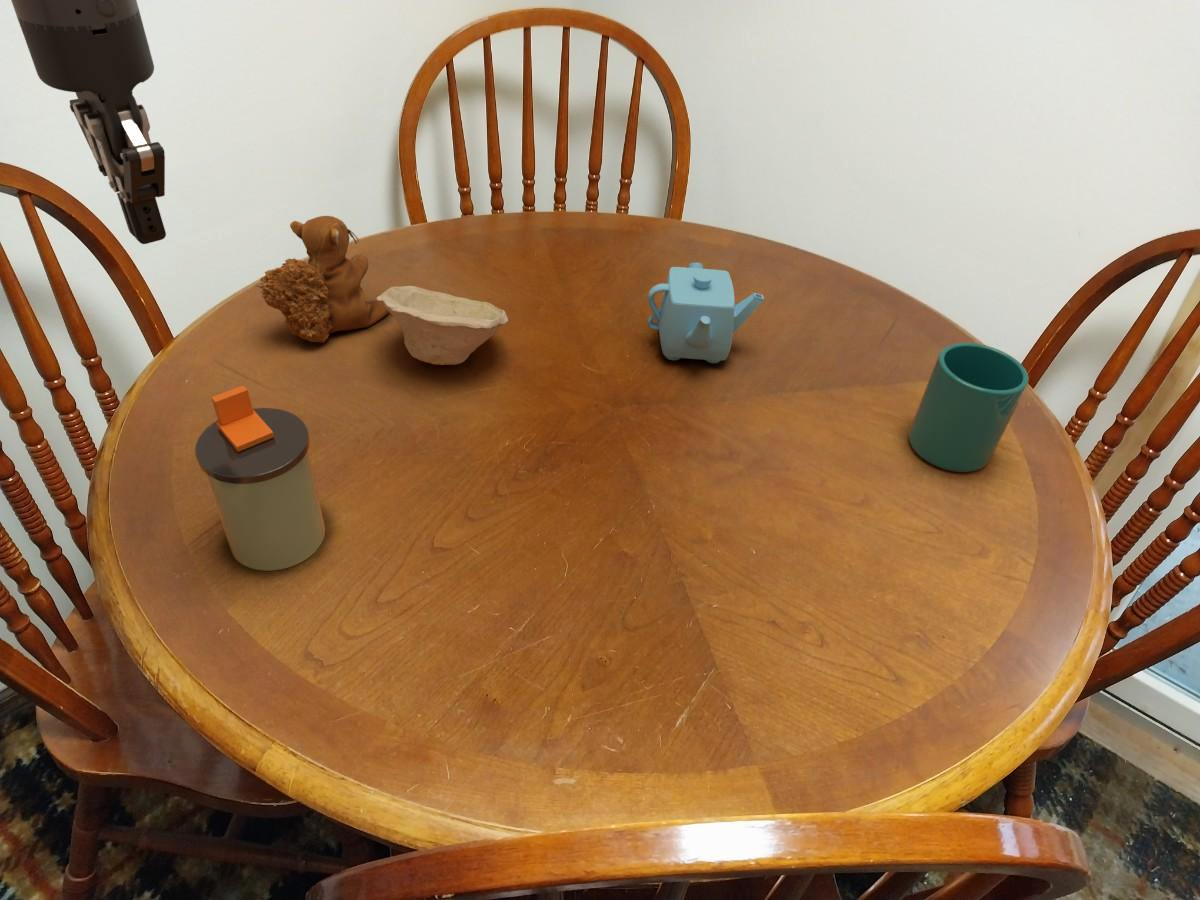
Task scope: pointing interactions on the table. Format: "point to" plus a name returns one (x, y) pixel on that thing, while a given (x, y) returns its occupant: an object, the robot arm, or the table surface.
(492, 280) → the table surface
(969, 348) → the cup
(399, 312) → the bowl
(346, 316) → the stuffed squirrel
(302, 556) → the lidded canister
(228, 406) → the slider
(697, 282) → the teapot
